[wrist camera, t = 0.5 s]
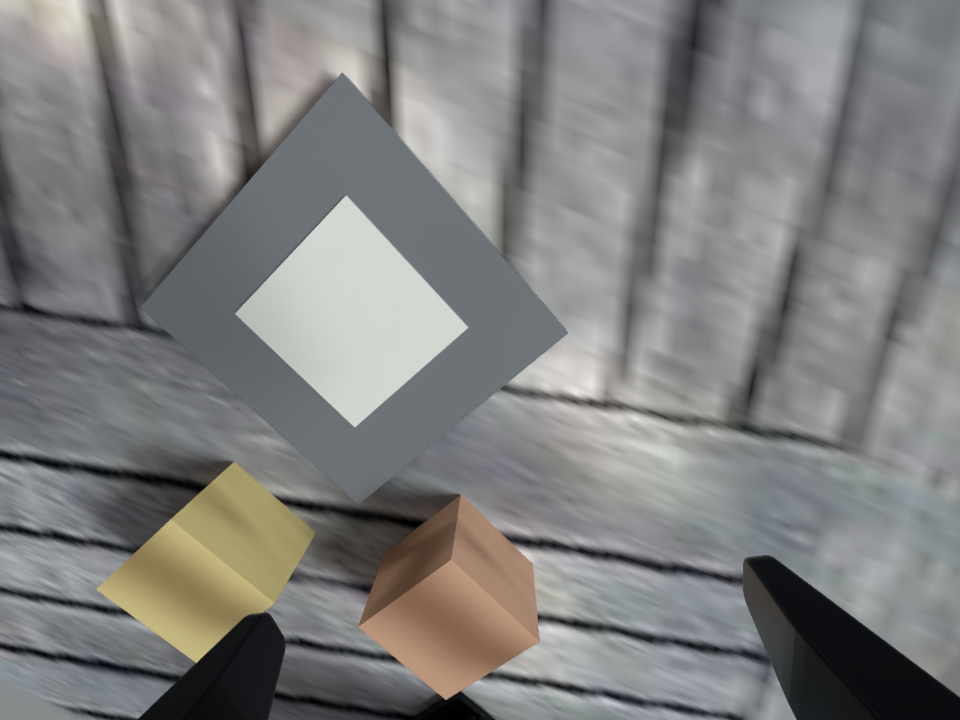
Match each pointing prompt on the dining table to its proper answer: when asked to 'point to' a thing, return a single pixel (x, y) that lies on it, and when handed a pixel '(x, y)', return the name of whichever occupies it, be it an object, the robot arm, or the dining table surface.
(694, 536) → the dining table surface
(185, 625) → the ochre brick
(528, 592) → the terracotta brick
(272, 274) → the charcoal baseplate
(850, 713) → the robot arm
